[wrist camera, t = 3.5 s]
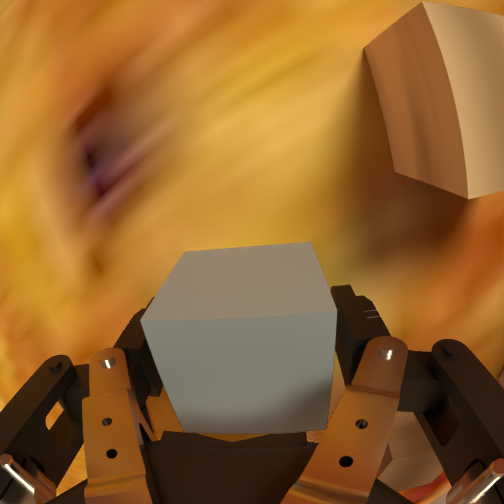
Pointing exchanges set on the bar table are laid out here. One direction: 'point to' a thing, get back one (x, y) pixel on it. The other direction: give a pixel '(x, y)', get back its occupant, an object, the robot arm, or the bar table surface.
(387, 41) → the beech cube
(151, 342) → the slate blue cube
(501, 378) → the tea box
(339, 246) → the bar table surface
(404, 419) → the walnut cube
